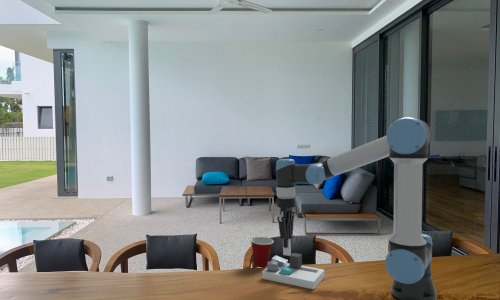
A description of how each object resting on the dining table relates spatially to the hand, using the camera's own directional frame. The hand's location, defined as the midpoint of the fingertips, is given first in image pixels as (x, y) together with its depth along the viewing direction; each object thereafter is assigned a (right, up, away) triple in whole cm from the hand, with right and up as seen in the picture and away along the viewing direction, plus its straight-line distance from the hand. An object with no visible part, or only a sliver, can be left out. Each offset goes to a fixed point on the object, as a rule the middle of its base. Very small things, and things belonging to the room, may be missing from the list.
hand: (287, 254), depth 145 cm
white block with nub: (-2, -6, +10) cm, 12 cm away
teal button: (0, -9, +1) cm, 9 cm away
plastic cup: (-10, -10, +17) cm, 22 cm away
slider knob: (+4, -7, +6) cm, 10 cm away
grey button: (-6, -7, +3) cm, 10 cm away
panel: (+3, -10, +3) cm, 11 cm away
